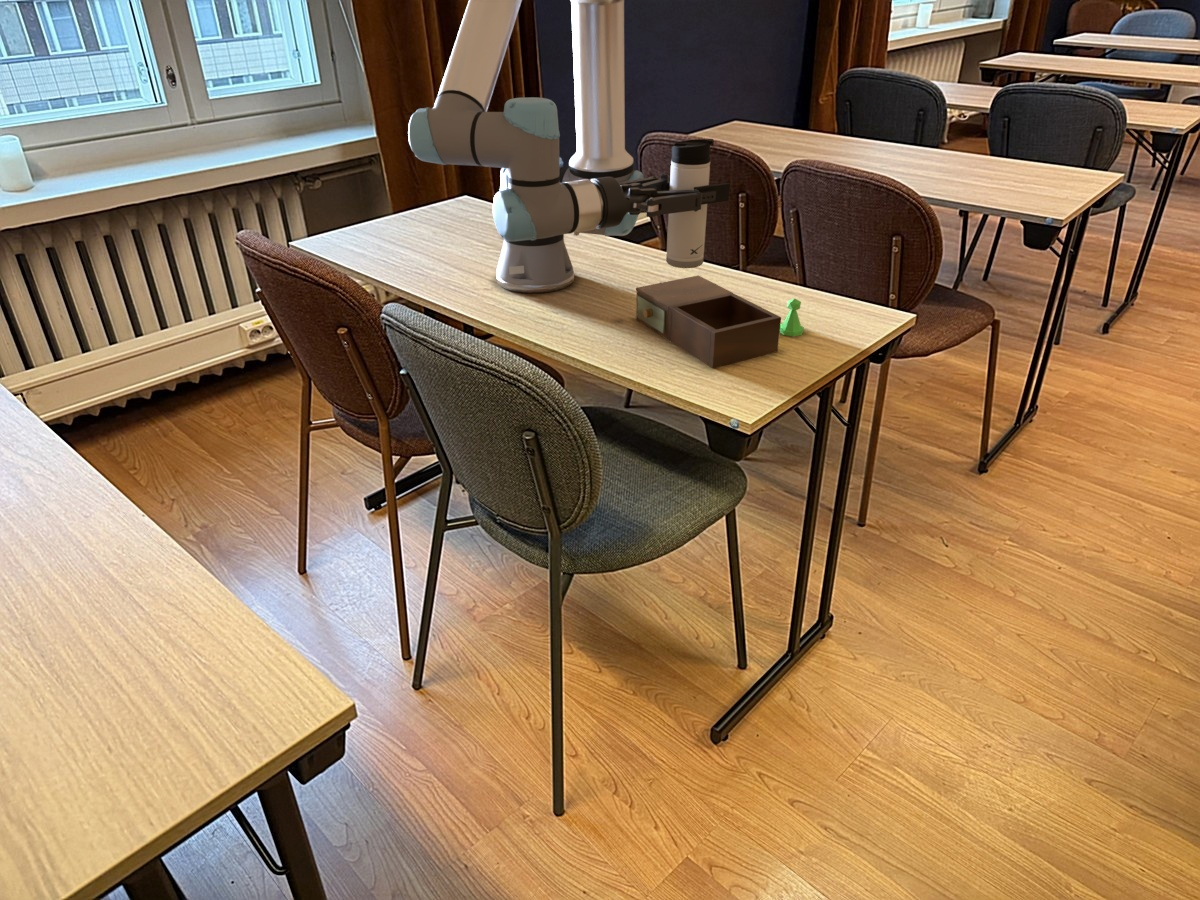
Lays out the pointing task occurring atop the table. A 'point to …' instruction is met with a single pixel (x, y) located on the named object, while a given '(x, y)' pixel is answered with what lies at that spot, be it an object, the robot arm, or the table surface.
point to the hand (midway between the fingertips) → (714, 187)
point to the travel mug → (689, 225)
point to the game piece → (792, 320)
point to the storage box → (708, 320)
